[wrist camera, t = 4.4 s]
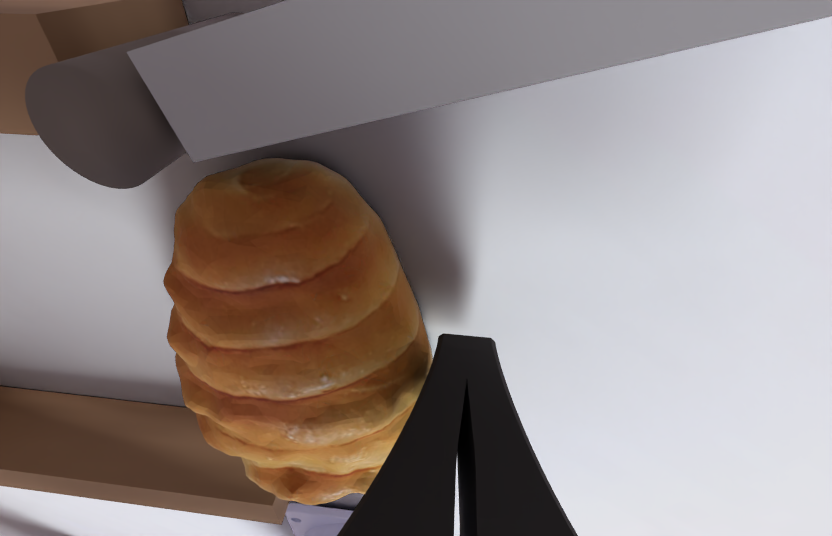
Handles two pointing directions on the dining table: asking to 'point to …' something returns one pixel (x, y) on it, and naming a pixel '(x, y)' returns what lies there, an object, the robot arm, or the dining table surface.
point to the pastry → (294, 327)
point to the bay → (118, 168)
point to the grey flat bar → (411, 57)
